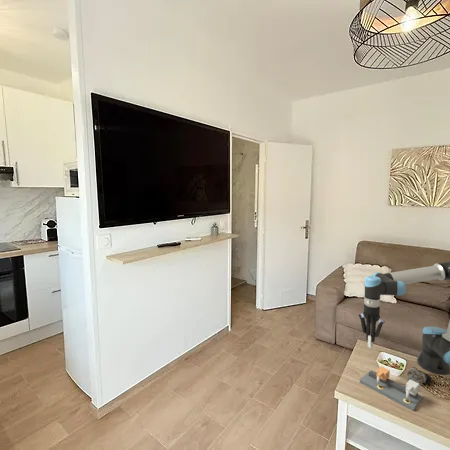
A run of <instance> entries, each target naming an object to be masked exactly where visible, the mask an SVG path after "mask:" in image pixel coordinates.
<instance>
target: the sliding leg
mask: <svg viewBox="0 0 450 450" xmlns="http://www.w3.org/2000/svg"><path fill="white" fill-rule="evenodd" d="M376 373H377V374H376V376H377V385H379V381H380V379H382V380H384V381H386V380H387V379H390V374H391V373H390V369H388V368H386V367H384V366H380V367H379V368H378V369H377V372H376Z"/></svg>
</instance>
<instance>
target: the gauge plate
mask: <svg viewBox="0 0 450 450" xmlns="http://www.w3.org/2000/svg"><path fill="white" fill-rule="evenodd" d="M376 374H377V372H375V371H374V370H369V371H368V372H367V373H366V374H365V375H364V376H362V377H361V378H360V379H359V383H360V384H363V385H364V386H366V387H368V388H369V389H371V390H373V391H375V392H377V393H379V394H381V395H383V396H385V397H386V398H388V399H390V400H393V401H394V402H396V403H398V404H400V405H401V406H403V407H405V408H407V409H409V410H411V411H413V412H414V411H415V410H416V408H417V407H418V406H419V405H420V403H421V402H422V401H423V398H424V397H423V396H422V395H421V394H419V391H420V385H419V383H417V382H414V381H412V380H409V381H408V380H407V382H406V383H405V386H404V385H402V384H400V383H399V382H396V381H394V380H393V379H390V378H388V379H387V380H386V381H384V380H382V379H380V381H379V385H377V376H376Z"/></svg>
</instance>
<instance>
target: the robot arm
mask: <svg viewBox="0 0 450 450" xmlns="http://www.w3.org/2000/svg"><path fill="white" fill-rule="evenodd" d="M364 279H365V280H364V300H363V301H364V302H363V303H364V304H363V313H360V314H358V317H359V319H360V322H361V325H360V326H361V328H362V332H363V333H364V334H366V335H365V337H366V338H365V339H366V341H367V348H369V349H371V348H373V346H374V343H375V342H376V341H375V340H376V338H377V337H379V335H380V333H381V330H382V328H383V327H382V326H383V325H384V324H385V322H386V321H385V320H383V319H382V318H381V316H380V313H381V309H380V308H381V296H404V295H405V294H406V292H407V286H406V285H407V284H414V283H421V282H428V281H434V280H439V281H447V280H448V281H450V261H444V262H442V261H441V262H439V263H438V262H435V263H434V264H433V265H430V266H423V267H417V268H411V269H406V270H399V271H393V272H387V273H385V272H384V273H382V272H374V273H372V275H367V276H366V277H365V278H364ZM377 322H378V325H377ZM376 327H377V328H376ZM416 363H417V365H418V366H419V367H421V368H422V369H423V370H426V371H427V372H430V373H433V374H436V375H437V374H438V375H448V374H449V373H450V320H449V321H448V325H447V329H445V328H441V327H437V326H429V325H428V326H424V327H423V329H422V338H421V350H420V352H419V354H418V356H417V358H416Z"/></svg>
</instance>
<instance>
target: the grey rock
mask: <svg viewBox="0 0 450 450" xmlns="http://www.w3.org/2000/svg"><path fill="white" fill-rule="evenodd" d="M406 380H407V382H408V381H409V380H412V381H414V382H417V383H419V387H422V385H423V383H424V384H431V380H432V377H431V376H430V375H429V374H428V373H426V372H423V371H421V370H419V369H418V367H415V366H412V367H411V368H410V369H409V370H408V371H407V378H406Z"/></svg>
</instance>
